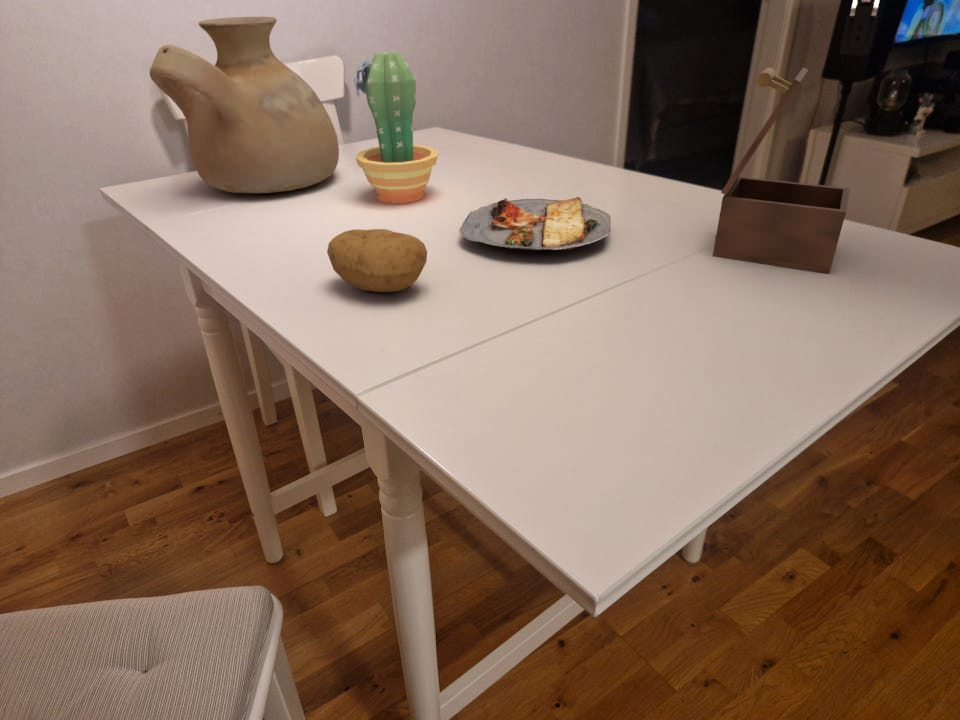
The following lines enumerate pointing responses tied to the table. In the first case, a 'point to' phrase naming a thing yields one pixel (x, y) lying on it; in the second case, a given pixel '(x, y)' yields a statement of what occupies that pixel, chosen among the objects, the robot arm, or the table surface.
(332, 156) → the jug
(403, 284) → the potato
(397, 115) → the potted cactus
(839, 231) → the box
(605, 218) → the food plate
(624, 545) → the table surface
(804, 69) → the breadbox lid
